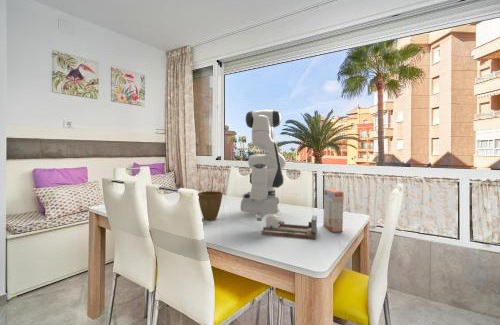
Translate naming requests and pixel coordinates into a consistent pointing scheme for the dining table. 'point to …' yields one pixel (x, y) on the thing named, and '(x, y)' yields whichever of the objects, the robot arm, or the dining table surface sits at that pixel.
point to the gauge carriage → (273, 221)
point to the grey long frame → (311, 225)
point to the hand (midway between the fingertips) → (259, 220)
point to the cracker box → (333, 209)
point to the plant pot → (210, 204)
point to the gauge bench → (291, 233)
